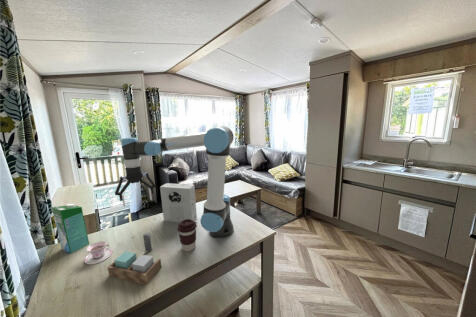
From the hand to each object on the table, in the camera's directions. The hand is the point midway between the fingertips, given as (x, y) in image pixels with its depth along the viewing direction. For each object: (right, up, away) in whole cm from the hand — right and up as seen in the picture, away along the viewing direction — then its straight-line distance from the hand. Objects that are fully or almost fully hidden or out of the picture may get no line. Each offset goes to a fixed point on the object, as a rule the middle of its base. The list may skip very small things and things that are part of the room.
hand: (138, 202), depth 107 cm
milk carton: (-34, -25, -1) cm, 42 cm away
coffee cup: (+30, -24, -4) cm, 38 cm away
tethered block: (+7, -26, -13) cm, 30 cm away
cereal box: (+16, -18, +25) cm, 35 cm away
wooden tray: (+10, -27, -20) cm, 35 cm away
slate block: (+14, -27, -21) cm, 37 cm away
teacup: (-15, -26, -9) cm, 32 cm away
